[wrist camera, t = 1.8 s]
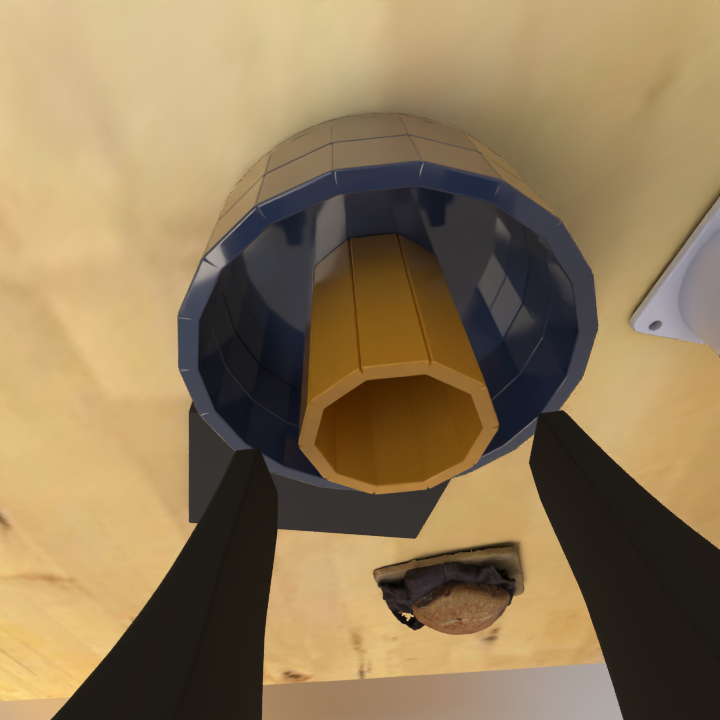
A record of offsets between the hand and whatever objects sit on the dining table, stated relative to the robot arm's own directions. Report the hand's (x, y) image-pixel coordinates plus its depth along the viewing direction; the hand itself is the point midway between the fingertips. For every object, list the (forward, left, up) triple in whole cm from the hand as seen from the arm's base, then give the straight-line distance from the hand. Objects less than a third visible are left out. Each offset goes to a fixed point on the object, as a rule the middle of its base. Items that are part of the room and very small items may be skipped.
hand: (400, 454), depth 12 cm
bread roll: (-12, +23, -8) cm, 28 cm away
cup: (0, 0, -8) cm, 8 cm away
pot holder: (0, +12, -8) cm, 15 cm away
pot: (0, 0, -8) cm, 8 cm away
